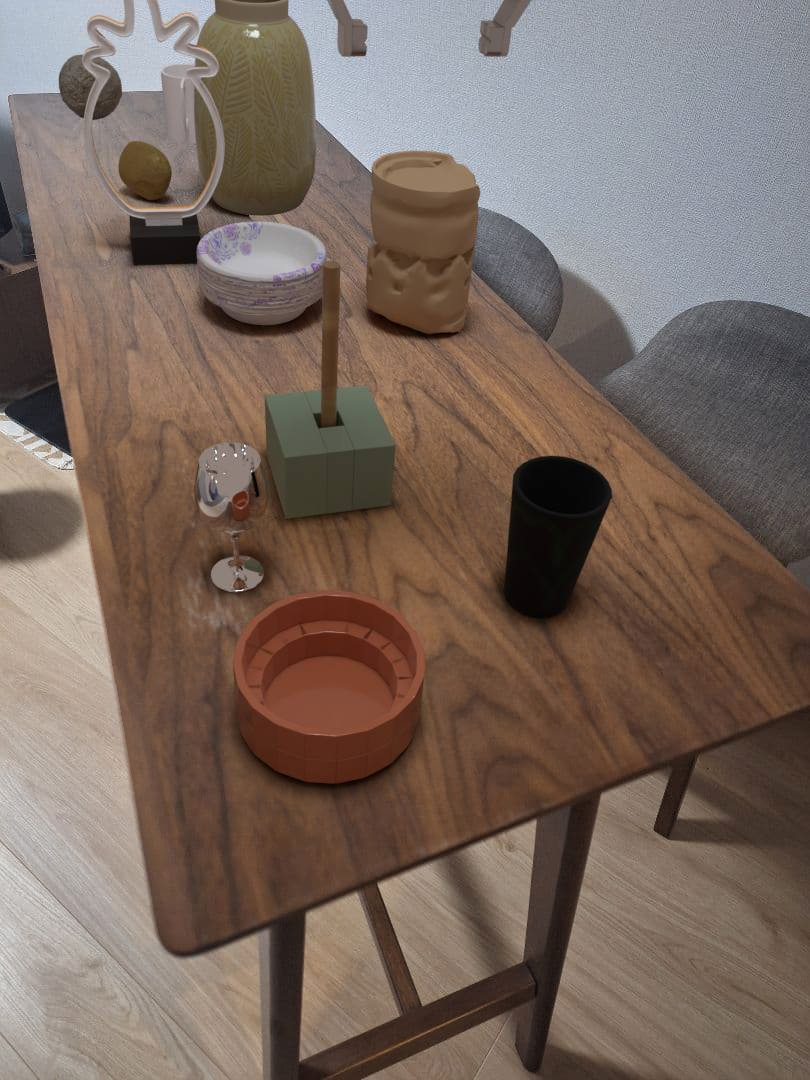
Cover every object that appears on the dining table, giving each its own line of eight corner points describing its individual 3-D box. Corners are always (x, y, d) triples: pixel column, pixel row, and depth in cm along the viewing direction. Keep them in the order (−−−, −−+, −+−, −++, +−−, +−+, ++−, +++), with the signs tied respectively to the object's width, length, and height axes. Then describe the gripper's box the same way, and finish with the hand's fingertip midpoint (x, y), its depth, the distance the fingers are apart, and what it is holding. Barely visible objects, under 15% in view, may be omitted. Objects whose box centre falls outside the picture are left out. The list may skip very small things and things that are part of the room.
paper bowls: (306, 347, 106) (306, 284, 101) (181, 326, 108) (175, 262, 102) (339, 290, 117) (341, 230, 112) (226, 272, 119) (222, 212, 114)
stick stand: (285, 519, 83) (284, 457, 78) (266, 455, 90) (264, 394, 86) (391, 505, 86) (396, 444, 81) (364, 444, 93) (367, 385, 88)
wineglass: (267, 600, 75) (262, 486, 67) (197, 595, 75) (184, 480, 67) (275, 553, 80) (272, 440, 72) (209, 548, 79) (198, 435, 71)
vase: (185, 183, 140) (168, -19, 122) (290, 172, 147) (288, -21, 129) (221, 228, 129) (208, 13, 111) (333, 214, 135) (338, 9, 118)
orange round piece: (254, 806, 61) (251, 753, 57) (226, 659, 70) (221, 605, 66) (441, 766, 64) (449, 714, 60) (390, 631, 74) (395, 578, 70)
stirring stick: (321, 485, 87) (325, 268, 73) (318, 476, 88) (321, 260, 74) (335, 483, 88) (342, 267, 73) (332, 474, 89) (338, 259, 74)
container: (442, 288, 120) (457, 147, 108) (481, 335, 111) (502, 187, 99) (351, 298, 116) (356, 153, 104) (384, 347, 107) (394, 195, 95)
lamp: (227, 234, 128) (211, -29, 107) (233, 261, 121) (218, -11, 100) (102, 237, 124) (60, -34, 103) (101, 266, 118) (57, -16, 97)
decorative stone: (62, 126, 155) (51, 62, 148) (66, 110, 161) (55, 48, 154) (125, 127, 157) (117, 63, 150) (126, 111, 163) (118, 49, 156)
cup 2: (598, 596, 79) (631, 487, 71) (545, 641, 74) (574, 530, 66) (527, 551, 82) (551, 443, 74) (473, 592, 78) (492, 481, 70)
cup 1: (161, 149, 150) (154, 84, 143) (169, 125, 159) (163, 62, 152) (211, 152, 151) (207, 86, 144) (217, 128, 160) (213, 65, 153)
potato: (122, 188, 137) (114, 133, 132) (174, 188, 138) (169, 133, 133) (120, 207, 132) (112, 150, 126) (174, 207, 133) (169, 150, 128)
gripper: (262, -242, 44) (270, 69, 53) (639, -211, 49) (587, 68, 58) (242, -248, 48) (252, 40, 58) (590, -218, 54) (548, 41, 63)
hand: (423, 54), depth 58 cm, fingers open, 8 cm apart
